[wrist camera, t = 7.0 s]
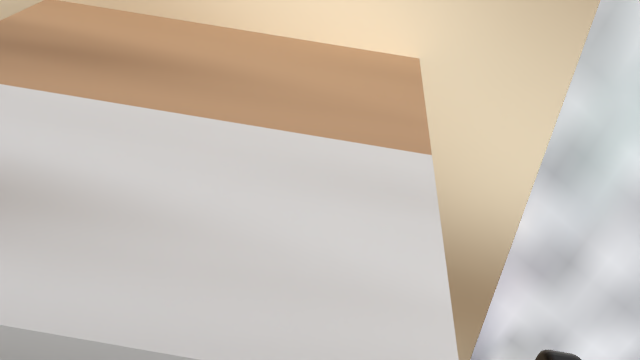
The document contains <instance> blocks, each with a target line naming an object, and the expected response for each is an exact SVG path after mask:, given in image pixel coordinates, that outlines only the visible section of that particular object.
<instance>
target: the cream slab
mask: <svg viewBox="0 0 640 360" xmlns="http://www.w3.org/2000/svg"><path fill="white" fill-rule="evenodd" d="M41 1H43V0H0V20H2V19H4V18H7V17H9V16H11V15H13V14H15V13H17V12H20V11H22V10H24V9H26V8H28V7H30V6H33V5H35V4H37V3H39V2H41ZM60 1H66V2H72V3H78V4H84V5H91V6H97V7H103V8H109V9H115V10H122V11H128V12H134V13H140V14H146V15H153V16H159V17H165V18H171V19H177V20H184V21H190V22H196V23H202V24H208V25H215V26H221V27H227V28H233V29H239V30H246V31H252V32H258V33H264V34H270V35H277V36H283V37H289V38H295V39H302V40H308V41H314V42H320V43H326V44H333V45H339V46H345V47H351V48H357V49H364V50H370V51H376V52H382V53H388V54H395V55H401V56H407V57H413V58H419V60H420V67H421V75H422V83H423V90H424V98H425V106H426V114H427V121H428V129H429V137H430V144H431V152H432V160H433V167H434V175H435V183H436V190H437V198H438V206H439V213H440V221H441V229H442V236H443V244H444V252H445V259H446V267H447V275H448V282H449V290H450V298H451V305H452V313H453V321H454V328H455V336H456V344H457V351H458V359H459V360H470V358H471V356H472V353H473V350H474V347H475V344H476V342H477V339H478V336H479V333H480V331H481V328H482V325H483V322H484V320H485V317H486V314H487V311H488V309H489V306H490V303H491V300H492V298H493V295H494V292H495V289H496V287H497V284H498V281H499V278H500V276H501V273H502V270H503V267H504V265H505V262H506V259H507V256H508V253H509V251H510V248H511V245H512V242H513V240H514V237H515V234H516V231H517V229H518V226H519V223H520V220H521V218H522V215H523V212H524V209H525V207H526V204H527V201H528V198H529V196H530V193H531V190H532V187H533V185H534V182H535V179H536V176H537V174H538V171H539V168H540V165H541V163H542V160H543V157H544V154H545V151H546V149H547V146H548V143H549V140H550V138H551V135H552V132H553V129H554V127H555V124H556V121H557V118H558V116H559V113H560V110H561V107H562V105H563V102H564V99H565V96H566V94H567V91H568V88H569V85H570V83H571V80H572V77H573V74H574V72H575V69H576V66H577V63H578V61H579V58H580V55H581V52H582V49H583V47H584V44H585V41H586V38H587V36H588V33H589V30H590V27H591V25H592V22H593V19H594V16H595V14H596V11H597V8H598V5H599V3H600V0H60Z"/></svg>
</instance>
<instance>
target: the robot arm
mask: <svg viewBox="0 0 640 360" xmlns="http://www.w3.org/2000/svg"><path fill="white" fill-rule="evenodd" d="M535 360H581V359H580V358H579V357H578V356H576V355H574V354H570V353H564V352H559V351H553V350H543V351H541V352H540V353H539V354H538V356H537V357H536V359H535Z"/></svg>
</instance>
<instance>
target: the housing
mask: <svg viewBox="0 0 640 360" xmlns="http://www.w3.org/2000/svg"><path fill="white" fill-rule="evenodd" d="M0 360H459V359H458V351H457V344H456V336H455V328H454V321H453V313H452V305H451V298H450V290H449V282H448V275H447V267H446V259H445V252H444V244H443V236H442V229H441V221H440V213H439V206H438V198H437V190H436V183H435V175H434V167H433V160H432V152H431V144H430V137H429V129H428V121H427V114H426V106H425V98H424V90H423V83H422V75H421V67H420V60H419V58H413V57H407V56H401V55H395V54H388V53H382V52H376V51H370V50H364V49H357V48H351V47H345V46H339V45H333V44H326V43H320V42H314V41H308V40H302V39H295V38H289V37H283V36H277V35H270V34H264V33H258V32H252V31H246V30H239V29H233V28H227V27H221V26H215V25H208V24H202V23H196V22H190V21H184V20H177V19H171V18H165V17H159V16H153V15H146V14H140V13H134V12H128V11H122V10H115V9H109V8H103V7H97V6H91V5H84V4H78V3H72V2H66V1H60V0H43V1H41V2H39V3H37V4H35V5H33V6H30V7H28V8H26V9H24V10H22V11H20V12H17V13H15V14H13V15H11V16H9V17H7V18H4V19H2V20H0Z"/></svg>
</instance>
